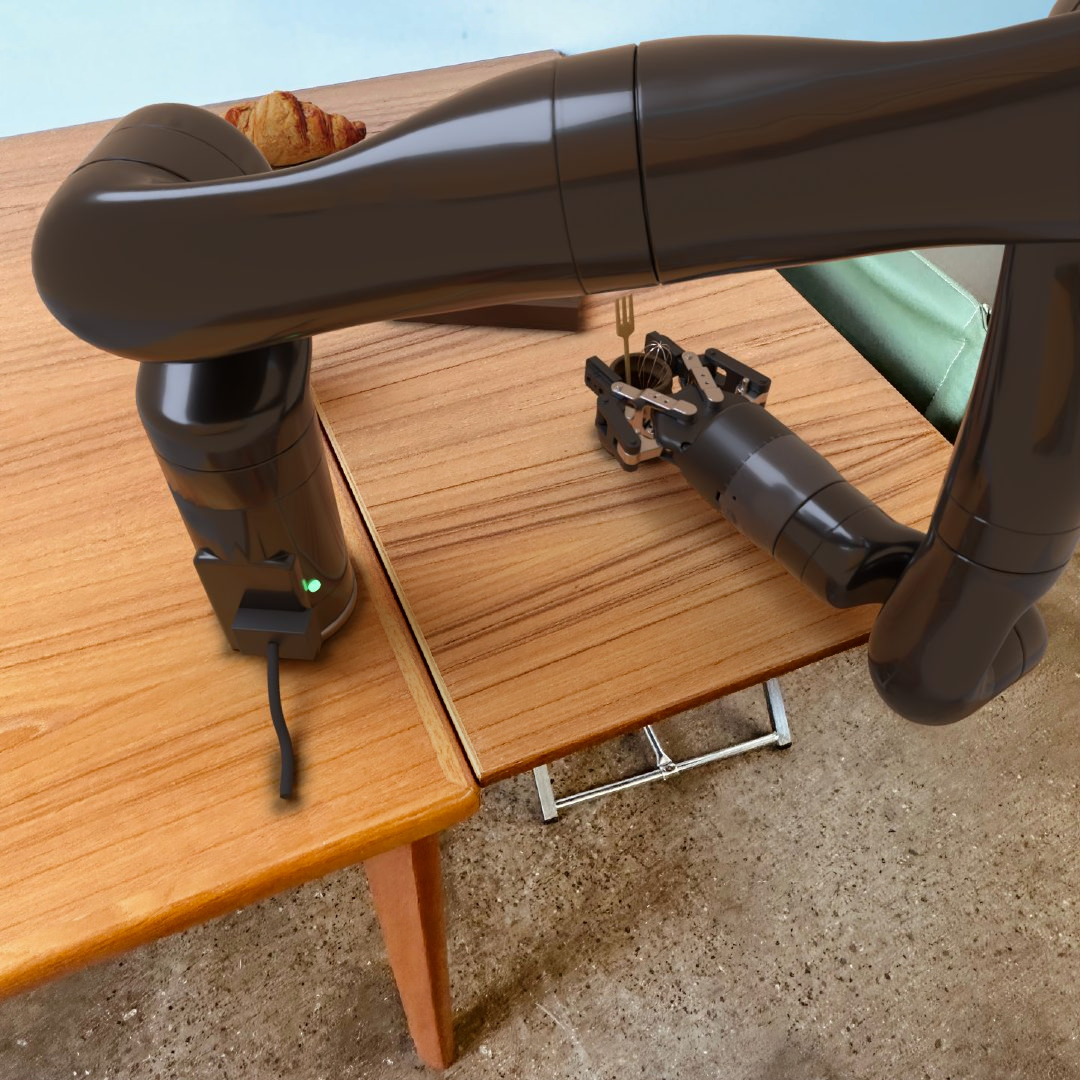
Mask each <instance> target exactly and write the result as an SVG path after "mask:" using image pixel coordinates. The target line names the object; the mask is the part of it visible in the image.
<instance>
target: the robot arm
mask: <svg viewBox="0 0 1080 1080" xmlns="http://www.w3.org/2000/svg"><path fill="white" fill-rule="evenodd" d="M979 246H980V247H981V246H1004V248H1003V254H1002V259H1001V263H1000V269H999V273H998V278H997V284H996V289H995V292H994V298H993V301H992V302H993V303H992V307H991V312H990V316H989V319H988V320H989V321H988V324H987V329H986V333H985V338H984V341H983V344H982V350H981V353H980V356H979V359H978V365H977V369H976V372H975V376H974V380H973V384H972V386H971V387H972V388H971V390H970V394H969V398H968V401H967V404H966V407H965V411H964V414H963V417H962V420H961V424H960V426H959V429H958V433H957V436H956V439H955V441H954V445H953V448H952V451H951V455H950V458H949V460H948V464H947V467H946V469H945V473H944V475H943V478H942V481H941V484H940V488H939V490H938V494H937V497H936V500H935V504H934V506H933V509H932V512H931V516H930V520H929V525H928V528H927V531H926V532H923V531H920V530H918V529H916V528H913V527H911V526H908V525H906V524H903V523H901V522H899V521H897V520H896V519H895V518H893V517H892V516H891V515H889V514H888V513H887V512H886V511H885V510H883V508H881V507H880V506H879V505H877V503H875V502H874V501H873V500H871V499H870V498H869V497H868V496H867V495H865V494H864V493H863V492H861V490H859V489H857V487H855V486H854V485H853V484H852V483H850V482H849V481H848V480H847V478H845V477H844V476H843V475H842V474H841V473H840V472H839V470H838V469H837V467H835V466H834V465H833V464H832V463H831V462H830V461H829V460H828V459H827V458H826V457H824V455H822V454H821V453H820V452H819V451H818V450H816V449H815V448H814V447H812V446H811V445H810V444H809V443H807V442H806V441H805V440H804V439H802V438H801V437H800V436H799V435H798V434H797V433H795V432H794V431H793V430H792V429H790V428H789V427H788V426H787V425H786V424H784V423H783V422H782V421H780V420H779V418H777V417H775V416H774V415H773V414H772V413H771V412H769V411H768V410H767V409H766V404H767V400H768V397H769V394H770V393H769V392H770V389H771V385H772V378H770V377H768V376H767V375H765V374H763V373H761V372H760V371H758V370H757V369H754V368H752V367H750V366H749V365H747V364H745V363H743V362H741V361H739V360H738V359H736V358H734V357H732V356H731V355H729V354H727V353H725V352H723V351H721V350H720V349H717V348H715V347H708V348H706V349H705V351H704V353H701V354H697V353H696V352H694V351H691V350H687V351H686V350H685V349H684V348H683V347H682V346H680V345H679V344H677V343H676V341H674V340H672V338H671V337H669V336H667V335H665V334H660V332H658V331H657V330H652V331H651V332H648V333H646V334H645V340H644V346H643V349H644V348H645V347H646V346H647V347H646V348H645V349H644V350H643V351H644V352H643V353H646V351H647V353H646V354H648V353H649V352H650V351H651V350H652V349H653V348H654V349H653V350H652V351H651V352H650V353H649V354H651V355H654V356H656V355H657V357H659V358H660V359H662V360H664V361H665V362H666V363H667V364H668V365H670V368H671V370H672V375H673V379H674V378H676V377H678V378H677V383H678V384H679V386H680V390H678V391H677V392H673V394H668V395H663V394H661V393H659V392H656V391H654V390H652V389H649V388H646V389H644V390H643V391H641V390H639V389H637V388H634V387H632V386H630V385H627V384H625V383H623V382H622V378H621V377H620V376H618V375H617V374H616V373H615V372H614V371H613V370H612V369H611V368H609V366H608V364H607V363H605V362H604V361H603V360H602V359H601V358H600V357H598V356H597V355H592V356H590V357H588V358H586V359H585V366H584V379H583V381H584V384H585V386H586V387H587V388H588V389H589V390H590V391H591V392H592V393H594V394H595V396H597V398H596V413H595V419H594V427H595V428H596V429H597V432H598V431H599V433H600V434H601V436H602V437H603V439H604V440H605V442H606V444H607V445H608V447H609V448H610V450H611V451H612V453H613V454H614V455H613V454H612V455H613V456H614V457H615V459H616V461H617V462H618V463H619V465H620V467H621V468H622V470H624V472H627V473H634V472H637V470H638V469H639V464H640V463H641V462H644V461H646V460H650V459H654V458H657V457H658V459H660V460H661V461H665V462H666V463H669V464H672V465H674V466H675V467H676V468H677V469H678V470H679V471H680V473H681V475H682V476H683V478H684V480H685V481H686V483H687V484H688V485H689V486H690V487H691V488H692V489H693V490H694V491H695V492H696V493H697V494H698V495H699V496H700V497H701V498H702V499H704V501H706V502H707V504H709V505H710V506H711V507H712V508H713V509H714V510H715V511H717V513H718V514H720V515H721V516H722V517H723V519H725V520H726V521H727V522H728V523H729V524H730V525H731V526H732V527H733V528H734V529H736V530H737V531H738V532H739V533H740V534H741V535H742V536H743V537H744V538H745V539H746V540H748V541H749V542H750V543H751V544H752V545H754V546H755V547H757V548H758V549H760V550H761V551H762V552H764V553H765V554H767V555H768V556H769V557H771V558H772V559H773V560H775V561H776V563H777V564H779V565H780V567H782V568H783V569H784V570H785V571H786V572H787V573H788V574H789V575H790V576H791V577H793V578H794V579H795V581H797V582H798V583H799V584H800V585H801V586H802V587H803V588H804V589H805V590H807V592H809V593H810V594H811V595H812V596H813V597H814V598H816V599H817V600H818V601H819V602H820V603H822V604H823V605H824V606H827V607H828V608H829V609H833V610H837V611H848V610H851V609H857V608H861V607H865V606H870V605H882V606H881V607H880V609H879V611H878V613H877V615H876V617H875V620H874V621H873V624H872V627H871V629H870V633H869V637H868V643H867V667H868V671H869V675H870V679H871V682H872V684H873V687H874V689H875V690H876V693H877V694H878V695H879V697H880V699H881V700H882V701H883V703H884V704H885V705H886V706H887V707H888V708H889V709H890V710H892V711H893V712H894V713H895V714H897V715H898V716H900V717H901V718H903V719H905V720H907V721H909V722H911V723H914V724H917V725H918V724H919V725H921V726H927V727H942V726H948V725H953V724H956V723H959V722H961V721H963V720H964V719H967V718H968V717H970V716H972V715H973V714H975V713H976V712H978V711H979V710H980V709H981V708H983V707H984V706H986V705H987V704H988V703H990V702H991V701H992V700H993V699H995V698H996V697H998V696H999V695H1001V694H1002V693H1004V692H1005V691H1006V690H1007V689H1009V688H1010V687H1011V686H1013V685H1014V684H1016V683H1017V682H1019V681H1020V680H1021V679H1023V678H1024V677H1026V676H1027V675H1028V674H1029V673H1031V672H1033V670H1034V669H1036V667H1037V666H1039V664H1040V663H1041V661H1042V660H1043V658H1044V657H1045V655H1046V652H1047V648H1048V645H1049V644H1048V643H1049V637H1048V635H1049V634H1048V629H1047V624H1046V621H1045V619H1044V617H1043V615H1042V612H1041V611H1040V608H1039V607H1038V606H1037V604H1036V603H1037V602H1038V601H1040V600H1041V599H1042V598H1043V597H1044V596H1046V594H1047V593H1049V592H1050V590H1052V589H1053V587H1054V586H1055V585H1056V584H1057V582H1058V581H1059V579H1060V578H1061V577H1062V575H1063V574H1064V572H1065V570H1066V569H1067V567H1068V565H1069V564H1070V561H1071V559H1072V557H1073V555H1074V553H1075V551H1076V549H1077V547H1078V544H1079V543H1080V0H1056V1H1055V3H1054V4H1053V6H1052V7H1051V10H1050V12H1049V14H1048V16H1047V17H1044V18H1040V19H1035V20H1032V21H1026V22H1023V23H1017V24H1014V25H1010V26H1005V27H1001V28H997V29H992V30H987V31H980V32H974V33H969V34H963V35H958V36H951V37H949V36H948V37H942V38H941V37H940V38H931V39H922V40H898V41H897V40H895V41H878V40H860V39H859V40H858V39H842V38H840V39H839V38H826V37H825V38H824V37H810V36H793V35H789V36H788V35H771V34H770V35H769V34H739V33H738V34H700V35H699V34H698V35H686V36H675V37H666V38H660V39H651V40H645V41H640V42H639V44H636V43H634V42H633V43H627V44H624V45H618V46H613V47H607V48H603V49H602V48H601V49H597V50H593V51H587V52H582V53H576V54H571V55H565V56H561V57H556V58H552V59H551V58H550V59H546V60H543V61H540V62H539V61H538V62H536V63H532V64H528V65H526V66H522V67H518V68H516V69H513V70H510V71H507V72H504V73H501V74H499V75H497V76H494V77H491V78H489V79H485V80H484V81H481V82H478V83H476V84H474V85H472V86H469V87H467V88H464V89H463V90H461V91H457V92H456V93H454V94H452V95H450V96H448V97H445V98H443V99H441V100H439V101H437V102H435V103H433V104H431V105H429V106H427V107H425V108H423V109H421V110H419V111H418V112H416V113H414V114H411V115H410V116H408V117H406V118H404V119H402V120H400V121H399V122H397V123H394V124H393V125H391V126H389V127H387V128H385V129H383V130H381V131H378V132H377V133H375V134H373V135H371V136H369V137H367V138H365V139H363V140H362V141H360V142H358V143H357V144H355V145H353V146H351V147H349V148H347V149H344V150H342V151H339V152H337V153H334V154H332V155H329V156H326V157H321V158H319V159H316V160H312V161H309V162H305V163H302V164H299V165H296V166H291V167H286V168H281V169H277V170H274V169H273V168H272V165H269V163H268V161H267V160H266V158H265V157H264V156H263V154H262V153H261V152H260V150H259V149H258V148H257V147H256V146H255V145H254V144H253V142H252V141H251V140H250V139H249V138H248V137H247V136H246V135H244V134H243V133H242V132H241V131H240V130H239V129H238V128H236V127H235V126H234V125H232V124H231V123H230V122H228V121H227V120H225V119H224V118H222V117H220V116H218V114H216V113H214V112H212V111H211V110H207V109H205V108H202V107H199V106H197V105H192V104H188V103H180V102H159V103H153V104H149V105H144V106H142V107H139V108H137V109H135V110H133V111H132V112H130V113H128V114H126V115H125V116H124V117H122V118H120V119H119V120H118V121H117V122H116V123H115V124H114V125H113V126H112V127H111V128H110V129H108V131H107V132H106V133H105V134H104V135H103V136H102V137H101V139H99V141H98V142H97V143H96V144H95V145H94V146H93V148H92V149H91V150H90V151H89V152H88V153H87V155H86V156H84V158H83V159H82V160H81V161H80V162H79V163H78V164H77V165H76V167H75V168H73V170H72V171H71V172H70V174H69V175H68V176H67V177H66V179H64V181H62V183H61V185H59V187H58V188H57V189H56V191H55V192H54V193H53V194H52V195H51V197H50V198H49V200H48V202H47V204H46V205H45V207H44V209H43V211H42V213H41V216H40V218H39V220H38V223H37V226H36V229H35V231H34V235H33V238H32V243H31V250H30V257H31V258H30V260H31V274H32V277H33V280H34V283H35V288H36V290H37V293H38V295H39V298H40V299H41V301H42V303H43V305H44V306H45V308H46V309H47V310H48V312H49V313H50V314H51V316H53V318H54V319H56V321H57V322H58V323H59V324H60V325H62V327H64V328H65V329H66V330H68V331H69V332H70V333H72V334H73V335H74V336H75V337H77V339H78V338H79V340H82V341H83V342H85V343H86V344H89V345H90V346H93V347H94V348H95V349H98V350H100V351H103V352H105V353H108V354H110V355H113V356H116V357H118V358H122V359H127V360H130V361H133V362H134V361H135V362H139V366H138V370H137V371H138V372H137V376H136V377H137V378H136V382H135V391H134V393H135V396H134V397H135V405H136V409H137V413H138V417H139V419H140V421H141V424H142V427H143V429H144V431H145V434H146V436H147V438H148V441H149V443H150V446H151V447H152V450H153V452H154V455H155V457H156V459H157V461H158V464H159V467H160V470H161V472H162V473H163V477H164V478H165V480H166V484H167V486H168V489H169V491H170V494H171V495H172V499H173V501H174V503H175V506H176V507H177V510H178V512H179V514H180V517H181V519H182V521H183V524H184V526H185V529H186V531H187V533H188V536H189V538H190V540H191V544H192V545H193V548H194V549H195V554H194V557H193V558H192V564H193V566H194V569H195V571H196V573H197V576H198V577H199V580H200V583H201V585H202V587H203V590H204V592H205V593H206V597H207V598H208V601H209V603H210V605H211V608H212V610H213V613H214V615H215V617H216V619H217V622H218V624H219V626H220V628H221V630H222V633H223V636H224V638H225V640H226V642H227V645H228V647H229V648H230V649H232V650H239V652H240V654H241V655H242V656H252V657H253V656H254V657H266V658H267V659H266V660H267V666H266V667H267V668H266V669H267V673H266V674H267V678H266V679H267V697H268V706H269V712H270V717H271V720H272V724H273V727H274V730H275V733H276V736H277V740H278V742H279V743H278V745H279V749H280V756H281V769H280V771H281V774H280V784H279V798H280V799H282V800H289V799H291V798H292V797H293V788H294V787H293V786H294V773H295V771H294V770H295V769H294V768H295V767H294V766H295V765H294V764H295V762H294V749H293V744H292V743H293V742H292V739H291V738H292V737H291V735H290V732H289V728H288V726H287V725H288V724H287V722H286V718H285V715H284V711H283V707H282V698H281V687H280V658H281V659H282V658H283V659H294V660H295V659H296V660H308V661H314V660H315V657H316V655H318V654H319V653H320V652H321V647H322V644H323V643H324V641H326V640H328V639H329V638H330V637H332V636H333V635H334V634H335V633H336V632H338V631H339V630H340V629H341V628H342V627H343V626H344V625H345V624H346V622H347V621H348V620H349V618H350V617H351V615H352V613H353V611H354V608H355V606H356V604H357V598H358V584H357V579H356V574H355V571H354V568H353V566H352V563H351V559H350V558H351V557H350V555H349V550H348V545H347V543H346V538H345V534H344V528H343V525H342V519H341V515H340V511H339V507H338V502H337V498H336V493H335V489H334V484H333V479H332V475H331V471H330V467H329V463H328V458H327V453H326V449H325V445H324V440H323V436H322V435H323V434H322V431H321V426H320V421H319V417H318V412H317V409H316V404H315V399H314V394H313V390H312V385H311V373H312V364H313V363H312V361H313V337H314V336H318V335H323V334H327V333H331V332H335V331H340V330H345V329H349V328H353V327H359V326H364V325H370V324H375V323H382V322H388V321H395V320H396V319H403V318H411V317H419V316H426V315H433V314H440V313H447V312H454V311H461V310H468V309H474V308H479V307H486V306H493V305H500V304H507V303H514V302H521V301H530V300H540V299H551V298H565V297H576V296H580V297H586V296H591V295H598V294H605V293H606V294H607V293H614V292H622V291H629V290H631V291H632V290H638V289H639V290H640V289H644V288H645V289H646V288H653V287H654V288H655V287H660V285H661V286H664V287H665V286H670V285H676V284H683V283H687V282H693V281H698V280H699V281H700V280H704V279H711V278H717V277H723V276H729V275H738V274H747V273H753V272H763V271H769V270H771V271H772V270H779V269H780V270H781V269H786V268H795V267H797V268H798V267H803V266H811V265H817V264H819V265H820V264H825V263H832V262H840V261H847V260H852V259H859V258H865V257H872V256H879V255H886V254H887V255H888V254H894V253H901V252H909V251H920V250H932V249H944V248H961V247H962V248H963V247H979ZM651 341H656V342H657V343H656V342H651ZM650 342H651V343H650ZM660 342H661V344H660ZM649 343H650V344H649ZM651 344H656V345H651ZM658 344H659V345H661V347H662V346H663V347H662V349H663V351H664V353H663V351H662V349H661V347H660V348H659V346H658ZM663 344H666V345H663ZM648 345H650V346H649V347H648ZM667 345H668V346H669V347H668V346H667ZM657 346H658V347H657ZM655 347H656V348H655ZM664 347H665V348H664ZM647 348H648V350H647ZM658 348H659V351H658ZM666 348H667V349H668V350H669V348H670V351H668V350H667V349H666ZM657 352H658V354H657ZM668 352H670V353H671V355H670V353H669V355H668ZM664 354H665V357H664ZM667 356H668V358H667ZM671 356H672V359H671ZM666 359H667V361H666ZM670 361H671V364H670ZM718 369H721V370H723V371H724V372H725V375H724V374H723V373H721V372H719V371H718ZM626 401H627V402H629V403H632V404H633V405H634V406H635V409H634V408H632V407H630V406H627V405H626ZM651 407H652V408H654V415H653V421H652V420H651V418H650V411H651ZM630 424H631V425H632V426H631V425H630ZM632 427H633V428H632ZM644 435H645V436H647V437H649V438H651V439H648V438H646V437H644Z"/></svg>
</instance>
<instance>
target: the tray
mask: <svg viewBox="0 0 1080 1080" xmlns="http://www.w3.org/2000/svg"><path fill="white" fill-rule="evenodd" d="M580 303H581V296H576V297H565V298H551V299H540V300H530V301H521V302H514V303H507V304H500V305H493V306H486V307H479V308H474V309H468V310H461V311H454V312H447V313H440V314H433V315H426V316H419V317H411V318H403V319H396V320H394V321H398V322H414V323H415V322H416V323H429V324H430V323H433V324H448V325H449V324H450V325H451V324H452V325H467V326H468V325H469V326H484V327H485V326H486V327H504V328H521V329H539V330H553V331H554V330H557V331H573V332H578V329H579V328H578V327H579V315H580Z"/></svg>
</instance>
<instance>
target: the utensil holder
mask: <svg viewBox="0 0 1080 1080" xmlns="http://www.w3.org/2000/svg"><path fill="white" fill-rule="evenodd" d="M614 306H615V307H614V309H615V310H614V311H615V312H614V313H615V332H616V335H617V336H618V337H620V338H622V339H623V353H624V354H622V355H620V356H618V357H616V358H615V359H613V360H612V362H611V363H610V364H609V366H608V367H609V368H611V369H612V370H613V371H614V372H615V373H616V374H617V375H618V376H620V377H621V378H622V382H623V383H625V384H627V385H630V386H632V387H634V388H637V389H639V390H641V391H643V390H644V389H646V388H649V389H652V390H654V391H656V392H659V393H661V394H663V395H668V394H673V393H674V392H673V386H674V378H673V375H672V370H671V368H670V365H668V364H667V363H666V362H665V361H664V360H662V359H660V358H659V357H657V355H656V356H654V355H651V354H649V353H650V352H651V351H652V350H653V349H654V348H653V349H652V350H651V351H650V352H649V353H648V354H646V353H647V351H646V353H645V352H643V351H644V349H645V348H646V347H647V346H646V347H645V348H644V347H643V349H642V350H641V351H640V352H630V343H629V342H630V341H629V338H630V337H631V335H632V334H633V333H634V332H635V329H636V327H635V312H634V298H633V293H631V292H630V293H628V309H627V297H626V295H625V294H624V295H622V296H621V307H620V298H619V297H615V298H614ZM620 308H621V309H620ZM627 310H628V311H627ZM620 312H621V313H622V314H621V313H620ZM621 315H622V321H621ZM628 320H629V321H628ZM621 322H622V323H621ZM651 342H656V341H651ZM651 342H650V343H651ZM650 343H649V344H650ZM656 343H657V342H656ZM660 344H661V342H660ZM651 345H656V344H651ZM663 345H666V344H663ZM649 346H650V345H648V347H649ZM658 346H659V348H660V347H661V345H659V344H658ZM658 346H657V347H658ZM667 346H668V345H667ZM662 347H663V346H662ZM662 347H661V349H662ZM668 347H669V346H668ZM655 348H656V347H655ZM659 348H658V351H659ZM664 348H665V347H664ZM666 349H667V348H666ZM647 350H648V348H647ZM667 350H668V349H667ZM662 351H663V349H662ZM668 351H670V348H669V350H668ZM663 353H664V351H663ZM669 353H670V352H668V355H669ZM657 354H658V352H657ZM670 355H671V353H670ZM664 357H665V354H664ZM667 358H668V356H667ZM671 359H672V356H671ZM666 361H667V359H666ZM670 364H671V361H670ZM626 405H627V406H630V407H632V408H634V409H635V406H634V405H633V404H632V403H629V402H627V401H626ZM653 415H654V408H652V407H651V411H650V418H651V420H652V421H653ZM630 425H631V424H630ZM631 426H632V425H631ZM632 428H633V427H632ZM597 434H598V440H599V442H600V444H601V446H602V447H603V448H604V450H606V451H607V452H608V453H609V454H611V455H613V456H614V454H613V453H612V451H611V450H610V448H609V447H608V445H607V444H606V442H605V440H604V439H603V437H602V436H601V434H600V433H599V431H598V430H597ZM644 437H646V438H648V439H651V438H649V437H647V436H645V435H644Z"/></svg>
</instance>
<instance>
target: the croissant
mask: <svg viewBox="0 0 1080 1080" xmlns="http://www.w3.org/2000/svg"><path fill="white" fill-rule="evenodd" d="M217 115H218V116H220V117H222V118H224V119H225V120H227V121H228V122H230V123H231V124H232V125H234V126H235V127H236V128H238V129H239V130H240V131H241V132H242V133H243V134H244V135H246V136H247V137H248V138H249V139H250V140H251V141H252V142H253V144H254V145H255V146H256V147H257V148H258V149H259V150H260V152H261V153H262V154H263V156H264V157H265V158H266V160H267V161H268V163H269V165H270V166H271V167H273V166H274V167H282V166H289V165H295V164H299V163H302V162H307V161H310V160H314V159H317V158H324V157H327V156H329V155H332V154H334V153H337V152H339V151H342V150H344V149H347V148H349V147H351V146H353V145H355V144H357V143H359V142H361V141H363V140H365V139H366V136H367V134H368V133H367V126H366V123H365V122H363V121H361V120H356V121H354V120H353V121H350V120H348V119H347V117H346V116H344V115H342V114H339V113H336V112H334V113H327V112H326V111H324V110H322V109H321V108H320V107H319V106H318V105H316V104H313V103H312V102H311V101H302V100H298V97H297V96H296V95H294V94H293V93H292V92H290V91H288V90H279V89H277V90H273V92H271V93H268V94H265V95H263V96H261V97H260V99H258V100H254V101H248V102H247V101H246V102H241V103H238V104H234V105H232V106H231V107H230V108H227V109H226V110H225V111H223V112H221V113H219V114H217Z"/></svg>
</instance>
